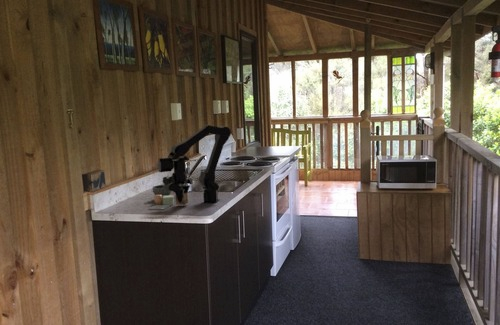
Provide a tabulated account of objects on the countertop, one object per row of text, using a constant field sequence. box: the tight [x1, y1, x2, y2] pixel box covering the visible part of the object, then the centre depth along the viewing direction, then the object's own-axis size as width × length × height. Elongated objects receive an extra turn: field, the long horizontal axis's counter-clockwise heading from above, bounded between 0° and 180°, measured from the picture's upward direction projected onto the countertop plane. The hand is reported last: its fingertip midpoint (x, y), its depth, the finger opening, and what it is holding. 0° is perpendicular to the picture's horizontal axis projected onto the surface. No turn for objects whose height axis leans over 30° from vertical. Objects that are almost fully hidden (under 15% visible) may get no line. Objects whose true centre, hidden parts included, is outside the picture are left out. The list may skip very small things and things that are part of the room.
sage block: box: [162, 194, 175, 206], centre depth 228 cm, size 5×5×4 cm
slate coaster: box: [148, 204, 171, 211], centre depth 220 cm, size 8×8×1 cm
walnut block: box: [175, 193, 189, 206], centre depth 221 cm, size 4×4×5 cm
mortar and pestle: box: [152, 183, 172, 198], centre depth 239 cm, size 11×9×12 cm
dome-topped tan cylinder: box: [153, 194, 163, 205], centre depth 228 cm, size 4×4×4 cm
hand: (181, 201), depth 222 cm, fingers closed on walnut block, 4 cm apart
